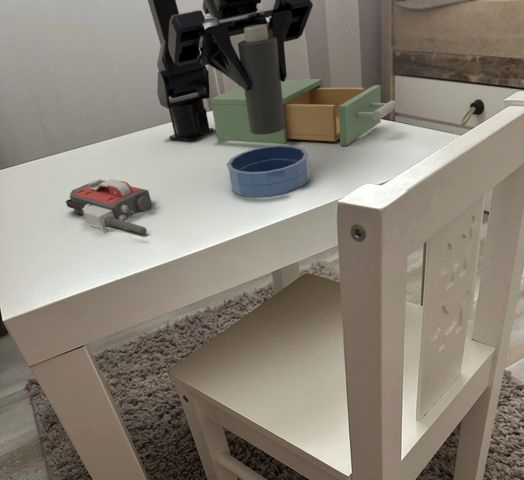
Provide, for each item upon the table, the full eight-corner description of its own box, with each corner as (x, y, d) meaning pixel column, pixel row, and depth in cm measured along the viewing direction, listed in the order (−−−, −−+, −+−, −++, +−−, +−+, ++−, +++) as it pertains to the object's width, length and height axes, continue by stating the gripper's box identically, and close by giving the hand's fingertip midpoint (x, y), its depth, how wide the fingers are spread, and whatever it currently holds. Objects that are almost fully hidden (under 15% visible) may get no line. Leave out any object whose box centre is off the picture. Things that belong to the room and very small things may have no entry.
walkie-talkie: (56, 217, 77) (141, 245, 66) (45, 188, 74) (131, 211, 63) (105, 195, 82) (191, 217, 70) (96, 167, 79) (184, 185, 68)
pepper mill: (243, 133, 71) (227, 31, 64) (262, 123, 74) (250, 23, 67) (273, 135, 69) (260, 29, 61) (292, 124, 71) (282, 21, 64)
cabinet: (325, 124, 97) (322, 78, 92) (285, 148, 88) (280, 100, 84) (260, 121, 104) (254, 79, 100) (218, 143, 96) (210, 99, 91)
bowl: (216, 197, 75) (211, 169, 73) (261, 169, 82) (257, 143, 79) (282, 206, 69) (278, 176, 67) (324, 175, 76) (322, 147, 74)
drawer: (404, 123, 88) (405, 85, 84) (371, 147, 80) (371, 106, 77) (312, 119, 97) (309, 85, 93) (275, 141, 89) (271, 104, 86)
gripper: (150, -70, 58) (205, 52, 56) (299, -92, 63) (353, 19, 61) (150, 12, 69) (196, 116, 67) (277, -13, 74) (322, 83, 72)
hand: (266, 83), depth 67 cm, fingers closed on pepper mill, 5 cm apart
